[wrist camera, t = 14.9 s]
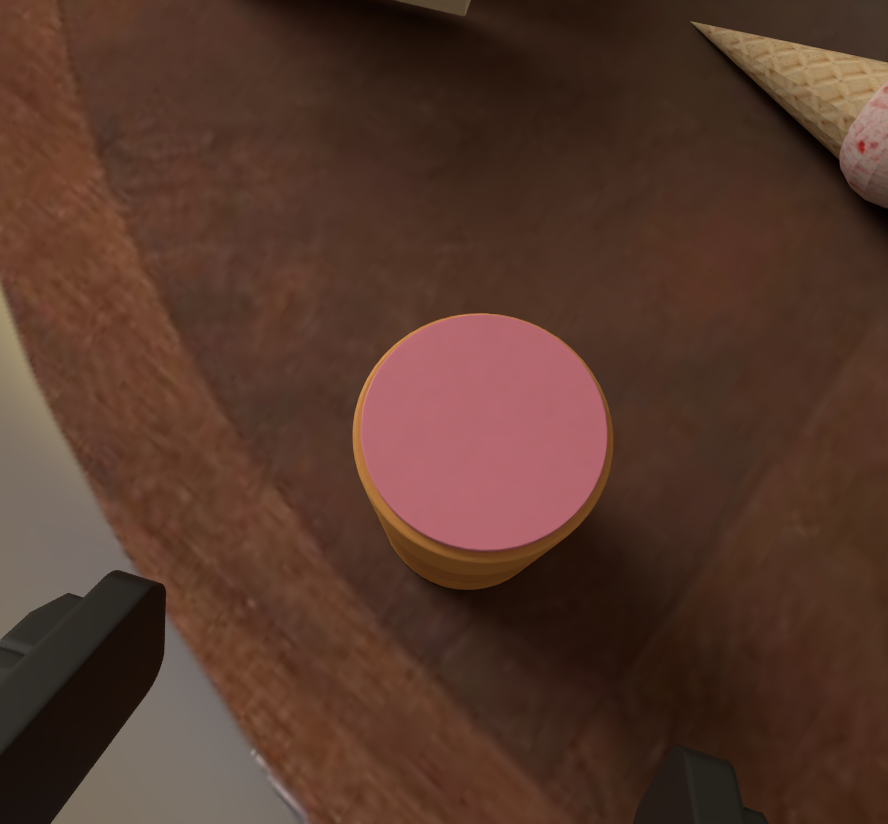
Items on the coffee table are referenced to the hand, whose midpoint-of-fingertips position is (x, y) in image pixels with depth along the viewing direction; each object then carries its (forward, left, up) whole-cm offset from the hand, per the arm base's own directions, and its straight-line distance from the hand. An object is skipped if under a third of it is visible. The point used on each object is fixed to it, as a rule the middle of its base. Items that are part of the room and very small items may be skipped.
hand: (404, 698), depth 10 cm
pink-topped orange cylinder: (0, +5, -10) cm, 11 cm away
